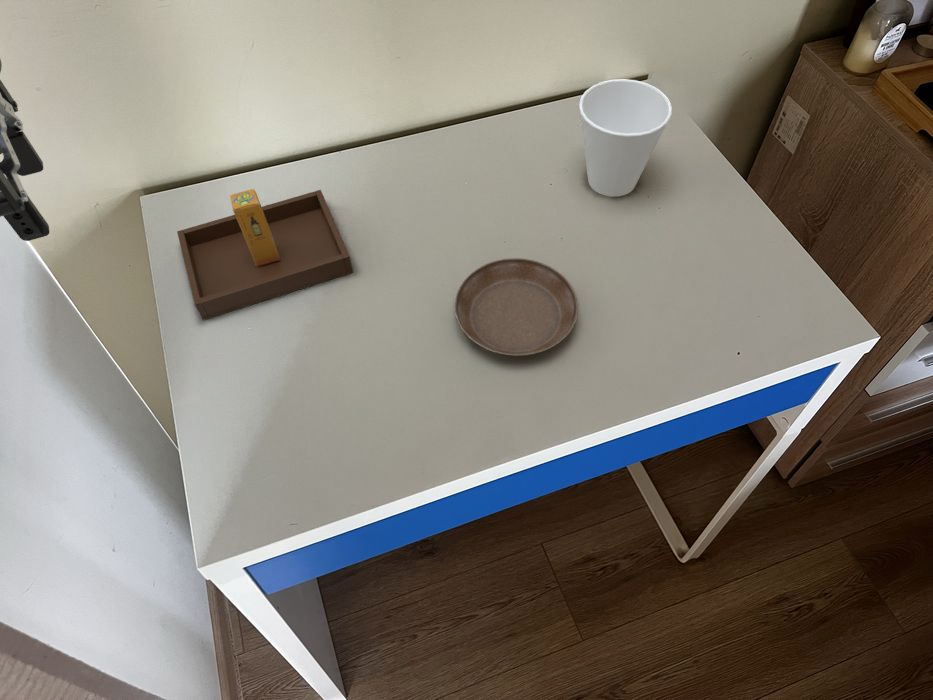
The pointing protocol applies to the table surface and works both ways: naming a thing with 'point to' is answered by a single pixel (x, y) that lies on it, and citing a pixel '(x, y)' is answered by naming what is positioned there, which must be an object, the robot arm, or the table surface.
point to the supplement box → (254, 227)
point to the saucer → (516, 307)
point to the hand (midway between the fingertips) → (34, 202)
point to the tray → (243, 283)
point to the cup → (621, 132)
